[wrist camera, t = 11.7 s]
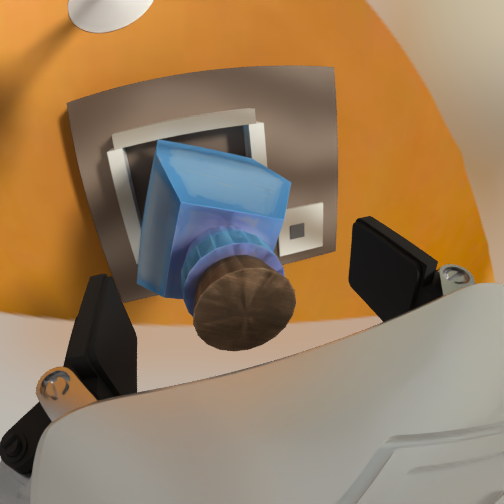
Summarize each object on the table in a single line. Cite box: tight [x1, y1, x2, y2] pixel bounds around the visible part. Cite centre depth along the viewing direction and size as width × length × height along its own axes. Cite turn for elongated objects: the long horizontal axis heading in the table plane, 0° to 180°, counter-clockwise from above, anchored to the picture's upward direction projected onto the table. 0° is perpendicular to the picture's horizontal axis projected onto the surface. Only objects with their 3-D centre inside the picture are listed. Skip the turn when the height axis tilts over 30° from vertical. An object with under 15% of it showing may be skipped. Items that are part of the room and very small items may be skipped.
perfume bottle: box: [137, 139, 296, 351], centre depth 14 cm, size 6×6×12 cm
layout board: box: [67, 66, 338, 303], centre depth 20 cm, size 16×19×3 cm
